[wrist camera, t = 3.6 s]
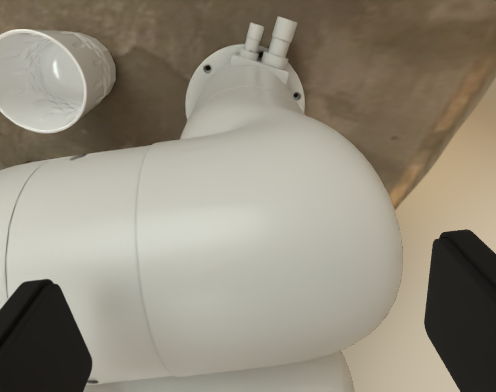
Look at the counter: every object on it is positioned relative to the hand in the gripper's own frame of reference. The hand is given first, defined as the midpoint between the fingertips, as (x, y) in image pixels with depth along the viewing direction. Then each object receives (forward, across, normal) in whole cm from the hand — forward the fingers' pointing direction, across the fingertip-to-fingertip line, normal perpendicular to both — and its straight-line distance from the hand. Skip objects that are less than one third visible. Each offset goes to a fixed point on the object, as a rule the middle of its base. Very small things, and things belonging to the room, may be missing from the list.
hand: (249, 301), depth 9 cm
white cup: (+33, +16, -4) cm, 37 cm away
